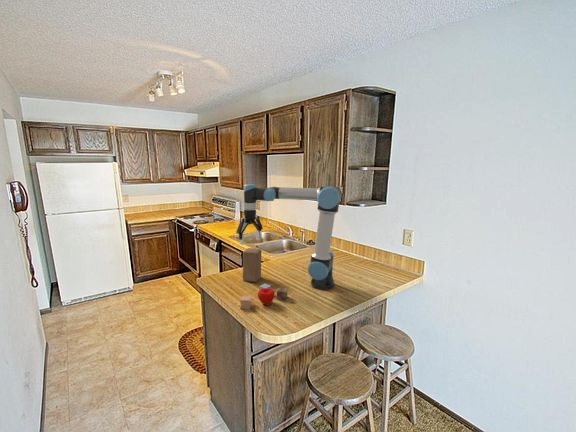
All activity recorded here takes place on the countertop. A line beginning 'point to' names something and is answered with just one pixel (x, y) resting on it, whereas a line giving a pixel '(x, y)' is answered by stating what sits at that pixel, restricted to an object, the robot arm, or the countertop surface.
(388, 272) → the countertop surface
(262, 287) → the slate-blue cube
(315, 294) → the countertop surface
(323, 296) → the countertop surface
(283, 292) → the walnut cube
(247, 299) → the terracotta cube
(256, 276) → the wooden block
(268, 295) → the apple
